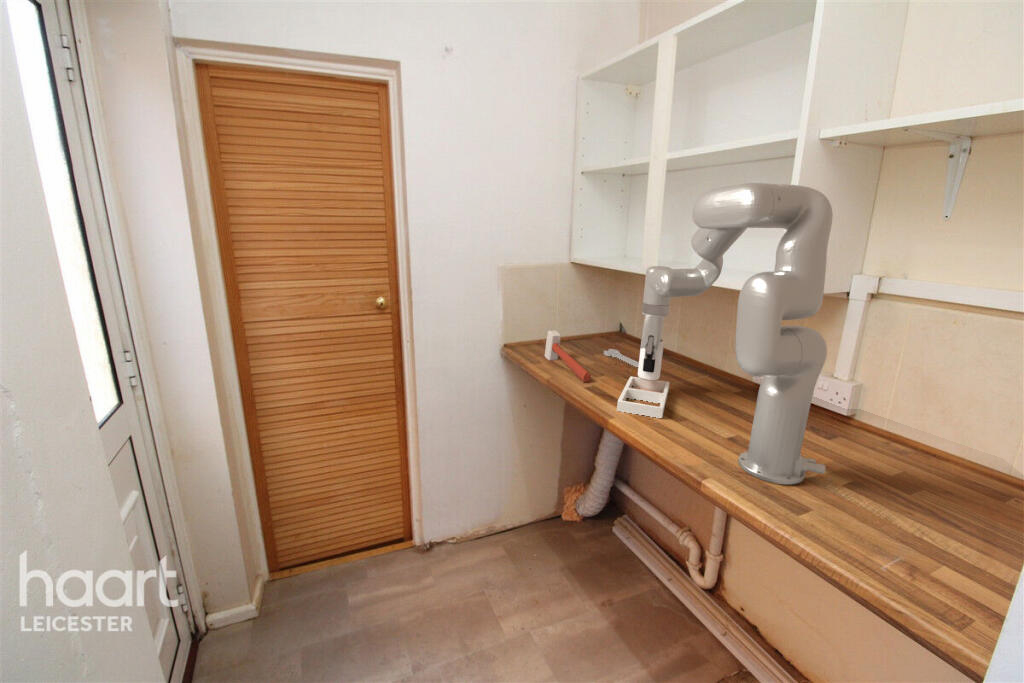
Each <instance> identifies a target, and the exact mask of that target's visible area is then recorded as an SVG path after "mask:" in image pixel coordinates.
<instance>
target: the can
mask: <svg viewBox="0 0 1024 683" xmlns="http://www.w3.org/2000/svg"><path fill="white" fill-rule="evenodd" d="M653 341H654V339H653ZM663 342H664V341H663V339H662V338H661V341H660V344H659V347H658V349H657V350H656V351H655V367H654V372H653V373H652V372H645V371H643V363H644V358H645V349H646V346H645V348H643V349H642V348H641V347H640V350H639V359H638V362H639V367H638V368H637V377H639V378H641V379H644V380H649V381H655V380H659V379H660V377H661V371H662V370H661V369H662V361H663V353H664V343H663ZM647 348H648V347H647ZM652 349H654V347H652ZM652 352H653V351H652Z"/></svg>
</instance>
